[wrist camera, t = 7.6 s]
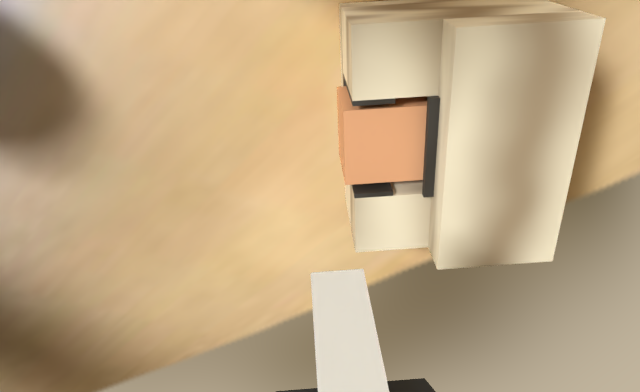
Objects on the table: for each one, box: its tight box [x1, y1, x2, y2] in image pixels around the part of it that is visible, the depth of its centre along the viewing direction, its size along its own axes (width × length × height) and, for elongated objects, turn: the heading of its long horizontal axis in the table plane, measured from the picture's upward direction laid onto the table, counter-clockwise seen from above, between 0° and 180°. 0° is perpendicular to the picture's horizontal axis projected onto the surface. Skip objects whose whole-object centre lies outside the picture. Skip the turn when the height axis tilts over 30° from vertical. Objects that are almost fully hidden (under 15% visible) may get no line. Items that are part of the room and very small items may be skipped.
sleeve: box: [339, 0, 606, 269], centre depth 26 cm, size 10×12×8 cm
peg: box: [337, 86, 427, 185], centre depth 26 cm, size 10×4×4 cm, turn 93°
